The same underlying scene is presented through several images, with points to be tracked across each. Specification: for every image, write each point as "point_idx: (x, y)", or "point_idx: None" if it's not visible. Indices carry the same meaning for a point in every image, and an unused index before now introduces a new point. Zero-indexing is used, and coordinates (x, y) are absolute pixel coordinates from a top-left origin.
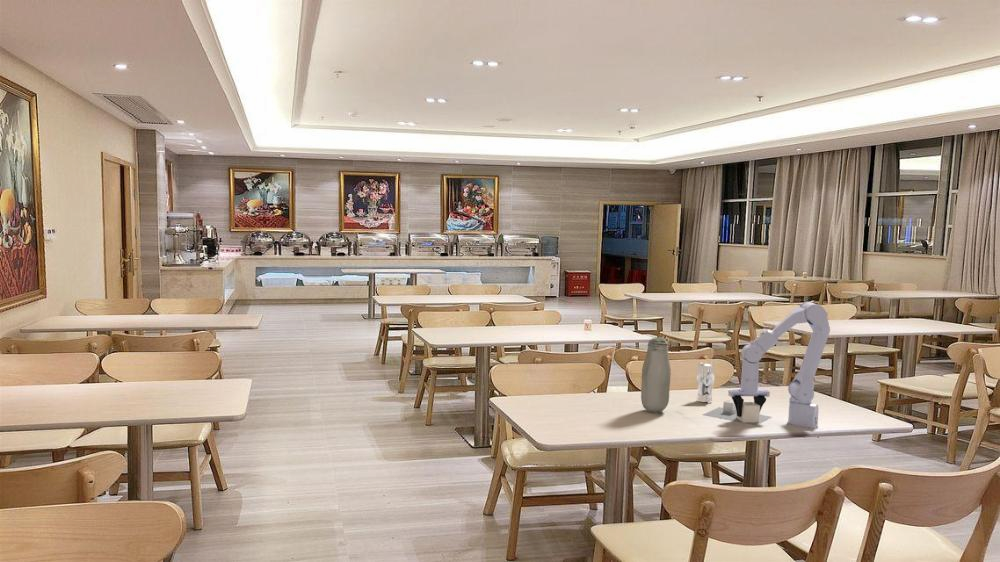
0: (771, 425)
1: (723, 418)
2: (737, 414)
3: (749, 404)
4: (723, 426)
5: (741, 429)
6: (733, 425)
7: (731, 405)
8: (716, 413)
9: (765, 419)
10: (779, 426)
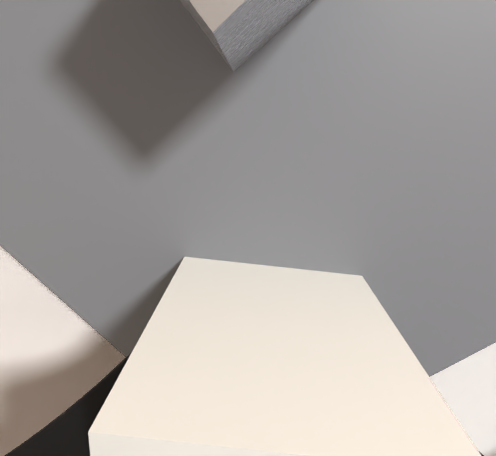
0: (440, 388)
1: (31, 256)
2: None
3: (374, 429)
4: (10, 364)
5: None
6: (106, 351)
7: (197, 16)
8: (12, 9)
9: (472, 340)
10: (483, 417)
